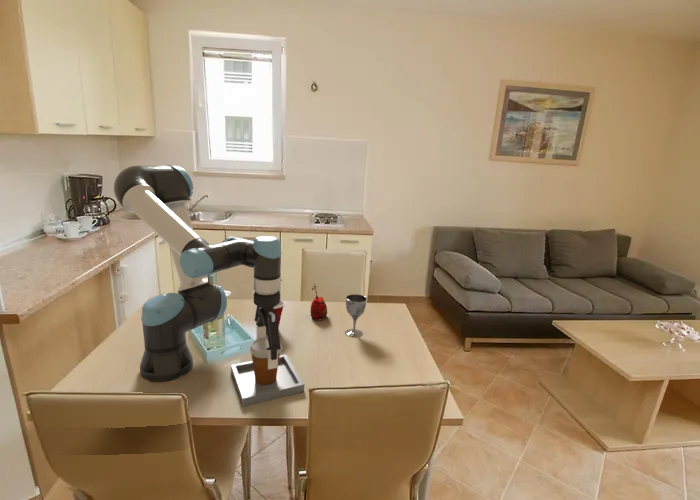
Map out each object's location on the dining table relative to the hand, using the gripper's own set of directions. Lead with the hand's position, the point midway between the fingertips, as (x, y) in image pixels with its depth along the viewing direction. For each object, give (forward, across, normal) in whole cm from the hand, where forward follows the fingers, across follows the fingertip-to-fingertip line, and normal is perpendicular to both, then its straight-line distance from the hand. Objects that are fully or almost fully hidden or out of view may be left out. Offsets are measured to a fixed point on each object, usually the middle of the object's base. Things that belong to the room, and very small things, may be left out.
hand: (266, 356), depth 116 cm
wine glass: (+9, +19, -40) cm, 45 cm away
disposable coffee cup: (+8, 0, 0) cm, 8 cm away
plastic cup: (+9, +32, -10) cm, 35 cm away
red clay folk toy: (+9, +37, -32) cm, 50 cm away
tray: (+9, 0, 0) cm, 9 cm away
